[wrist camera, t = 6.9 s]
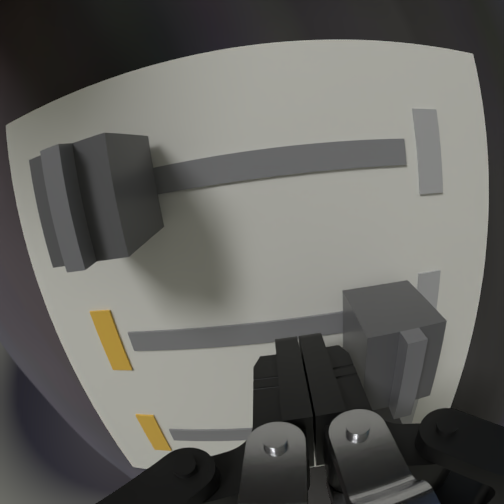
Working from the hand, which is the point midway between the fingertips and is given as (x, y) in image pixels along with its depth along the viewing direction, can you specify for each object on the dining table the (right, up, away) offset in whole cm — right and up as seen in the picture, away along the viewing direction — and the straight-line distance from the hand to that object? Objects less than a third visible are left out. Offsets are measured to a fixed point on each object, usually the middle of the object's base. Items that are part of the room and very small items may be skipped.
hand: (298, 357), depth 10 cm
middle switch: (+3, +1, +1) cm, 3 cm away
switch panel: (-1, +1, +4) cm, 4 cm away
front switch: (-6, +6, 0) cm, 8 cm away
